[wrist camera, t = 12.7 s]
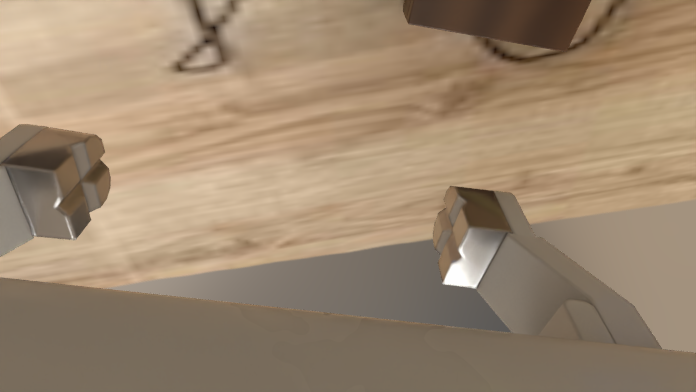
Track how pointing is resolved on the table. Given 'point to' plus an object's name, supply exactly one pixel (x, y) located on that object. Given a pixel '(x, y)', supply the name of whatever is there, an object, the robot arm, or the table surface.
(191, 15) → the table surface
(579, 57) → the table surface
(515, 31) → the desk riser
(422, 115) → the table surface
